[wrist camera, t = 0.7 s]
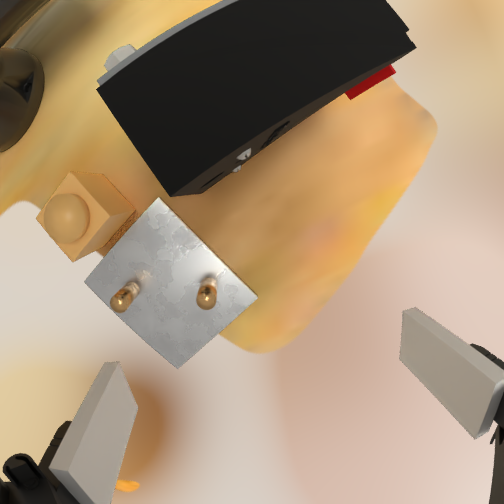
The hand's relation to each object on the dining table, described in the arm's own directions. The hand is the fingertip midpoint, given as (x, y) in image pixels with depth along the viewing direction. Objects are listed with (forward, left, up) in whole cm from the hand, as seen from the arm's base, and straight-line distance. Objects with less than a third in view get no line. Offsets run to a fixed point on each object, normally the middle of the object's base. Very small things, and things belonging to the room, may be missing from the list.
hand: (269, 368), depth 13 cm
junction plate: (-3, -9, -23) cm, 25 cm away
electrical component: (-11, +11, -24) cm, 29 cm away
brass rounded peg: (0, -5, -23) cm, 24 cm away
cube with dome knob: (-15, -8, -23) cm, 29 cm away
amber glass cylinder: (-6, -12, -23) cm, 27 cm away
